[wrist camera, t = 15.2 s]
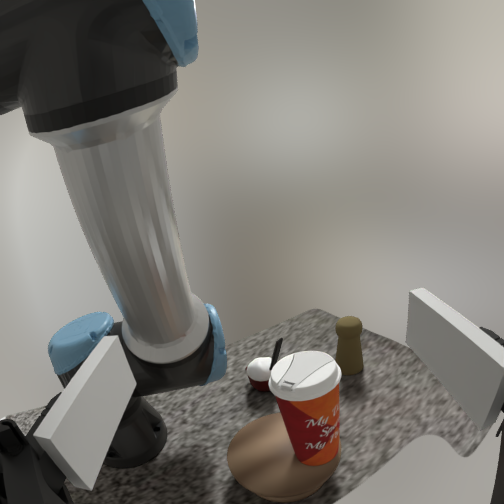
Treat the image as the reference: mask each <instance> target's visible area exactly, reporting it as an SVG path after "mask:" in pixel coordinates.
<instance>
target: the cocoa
mask: <svg viewBox="0 0 504 504" xmlns="http://www.w3.org/2000/svg"><path fill="white" fill-rule="evenodd" d="M282 341H283V338H280V339H279V340H278V341H276V344H275V348H274V352H273V356H272V359H271V358H270V357H266V358H256V359H254V360H253V361H252V362H251V363H250V364H249V365H248V367H246V372H247V375H248V378H249V380H250V383H251V385H252V386H253V387H254V388H255V389H257V390H259V391H270V388H269V379H270V376H271V371H272V368H273V367H274V365H275V364H276V363H277V359H278V356H279V352H280V348H281V344H282Z"/></svg>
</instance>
